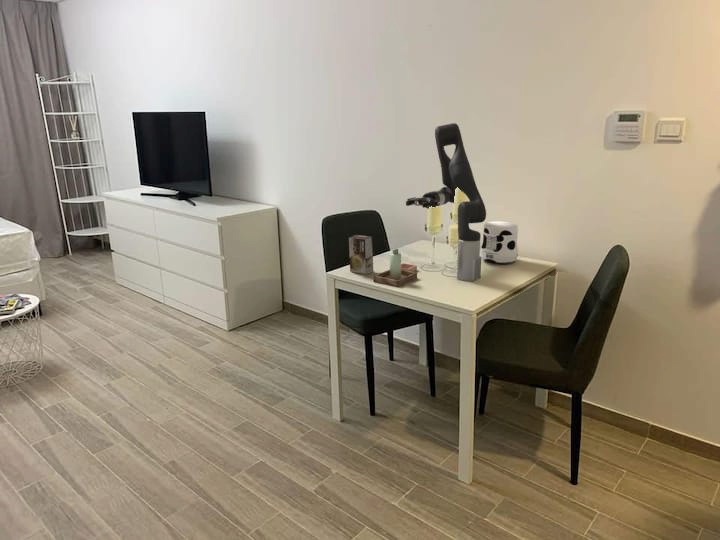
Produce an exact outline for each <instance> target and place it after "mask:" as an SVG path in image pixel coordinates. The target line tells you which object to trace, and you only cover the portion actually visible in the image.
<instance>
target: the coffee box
mask: <svg viewBox="0 0 720 540" xmlns="http://www.w3.org/2000/svg"><path fill="white" fill-rule="evenodd" d="M373 238H374V237H373V236H369V235H363V234H362V235H361V234H354V235H352V236H350V237H348V247H349V248H348V250H349V251H348V252H349V272H350V271H351V273H356V274H363V275H367V274H369V273H372V272H374V251H373V250H374V245H373V244H374V243H373V240H374V239H373Z"/></svg>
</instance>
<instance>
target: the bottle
mask: <svg viewBox="0 0 720 540" xmlns="http://www.w3.org/2000/svg"><path fill="white" fill-rule="evenodd" d="M401 264H402V253H401V252H399V248H392V252H390V253H389V270H390V279H393V280H400V279H401Z"/></svg>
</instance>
